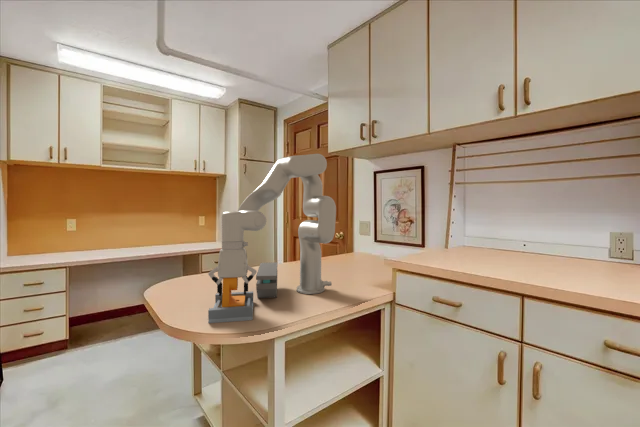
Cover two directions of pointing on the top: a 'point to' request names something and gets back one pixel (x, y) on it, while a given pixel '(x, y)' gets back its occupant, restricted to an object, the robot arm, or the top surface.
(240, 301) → the bracket
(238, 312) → the grey tray
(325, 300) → the top surface
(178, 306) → the top surface
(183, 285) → the top surface
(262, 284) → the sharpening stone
